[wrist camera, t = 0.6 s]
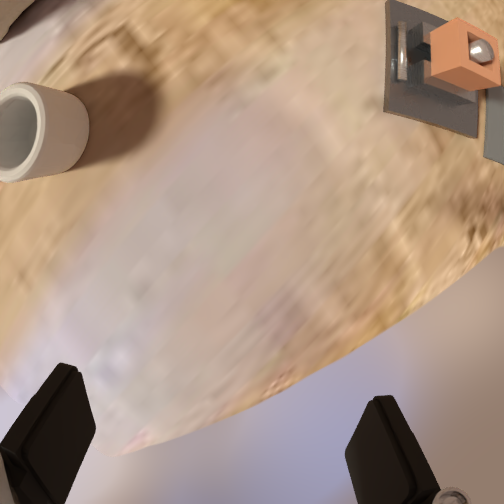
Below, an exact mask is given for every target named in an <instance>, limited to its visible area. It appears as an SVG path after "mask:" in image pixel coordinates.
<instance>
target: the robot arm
mask: <svg viewBox="0 0 504 504" xmlns="http://www.w3.org/2000/svg"><path fill="white" fill-rule="evenodd" d="M95 431H96V425H95V421H94V418H93V415H92V411H91V408H90V404H89V400H88V397H87V393H86V389H85V385H84V381H83V377H82V374H81V372H78V369H77V367H75V366H72V365H68V364H65V363H59V364H58V365H57V366H56V367H55V369H54V370H53V371H52V373H51V374H50V375H49V377H48V378H47V379H46V381H45V382H44V383H43V385H42V386H41V387H40V389H39V390H38V391H37V393H36V394H35V395H34V396H33V397H32V398H31V399H30V401H29V402H28V404H27V405H26V406H25V408H24V409H23V411H22V412H21V413H20V415H19V416H18V418H17V419H16V421H15V422H14V424H13V425H12V427H11V428H10V429H9V431H8V432H7V434H6V435H5V437H4V439H3V440H2V442H1V443H0V504H65V502H66V499H67V497H68V494H69V492H70V490H71V487H72V484H73V482H74V480H75V478H76V475H77V473H78V470H79V468H80V466H81V464H82V461H83V459H84V457H85V454H86V452H87V450H88V448H89V445H90V443H91V441H92V439H93V437H94V434H95ZM345 458H346V462H347V466H348V470H349V473H350V477H351V480H352V484H353V488H354V491H355V495H356V498H357V502H358V504H472V503H471V499H470V497H469V496H468V494H467V493H466V492H465V491H463V490H461V489H459V488H455V487H448V488H445V489H442V490H441V489H440V487H439V485H438V483H437V481H436V478H435V476H434V474H433V472H432V470H431V468H430V466H429V464H428V462H427V460H426V458H425V456H424V454H423V452H422V450H421V448H420V446H419V444H418V442H417V440H416V438H415V436H414V434H413V433H412V431H411V429H410V427H409V425H408V424H407V422H406V420H405V418H404V416H403V414H402V412H401V410H400V408H399V407H398V404H397V402H396V401H395V399H394V397H393V396H391V395H385V396H375V397H374V398H373V400H371V401H369V402H368V404H367V406H366V408H365V411H364V413H363V415H362V417H361V419H360V421H359V423H358V425H357V428H356V430H355V432H354V434H353V436H352V438H351V440H350V442H349V444H348V446H347V448H346V450H345Z"/></svg>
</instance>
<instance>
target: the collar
mask: <svg viewBox="0 0 504 504" xmlns="http://www.w3.org/2000/svg"><path fill="white" fill-rule="evenodd" d="M479 39H484V40H486V41H487V42H489V44H490V45H491V47H492V48H493V51H494V58H493V59H492V60H490V61H486V62H482V63H479V64H477V63H475V62H473V61H471V60H469V49H468V44H469V43H472V42H474V41H477V40H479ZM430 40H431V76H433V77H436V78H438V79H441V80H444V81H446V82H449V83H451V84H454V85H456V86H458V87H461V88H463V89H465V90H468V91H475V90H480V89H485V88H491V87H497V86H501V79H500V63H499V52H498V43H497V39H496V38H494V37H493V36H491V35H489V34H488V33H486V32H484V31H482V30H481V29H479V28H477V27H475V26H473V25H471V24H469V23H467V22H466V21H464V20H462V19H460V18H458V17H457V18H455V19H453V20H451V21H449V22H448V23H446V24H444V25H442V26H440V27H438V28H437V29H435V30H433V31H431V32H430Z"/></svg>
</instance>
